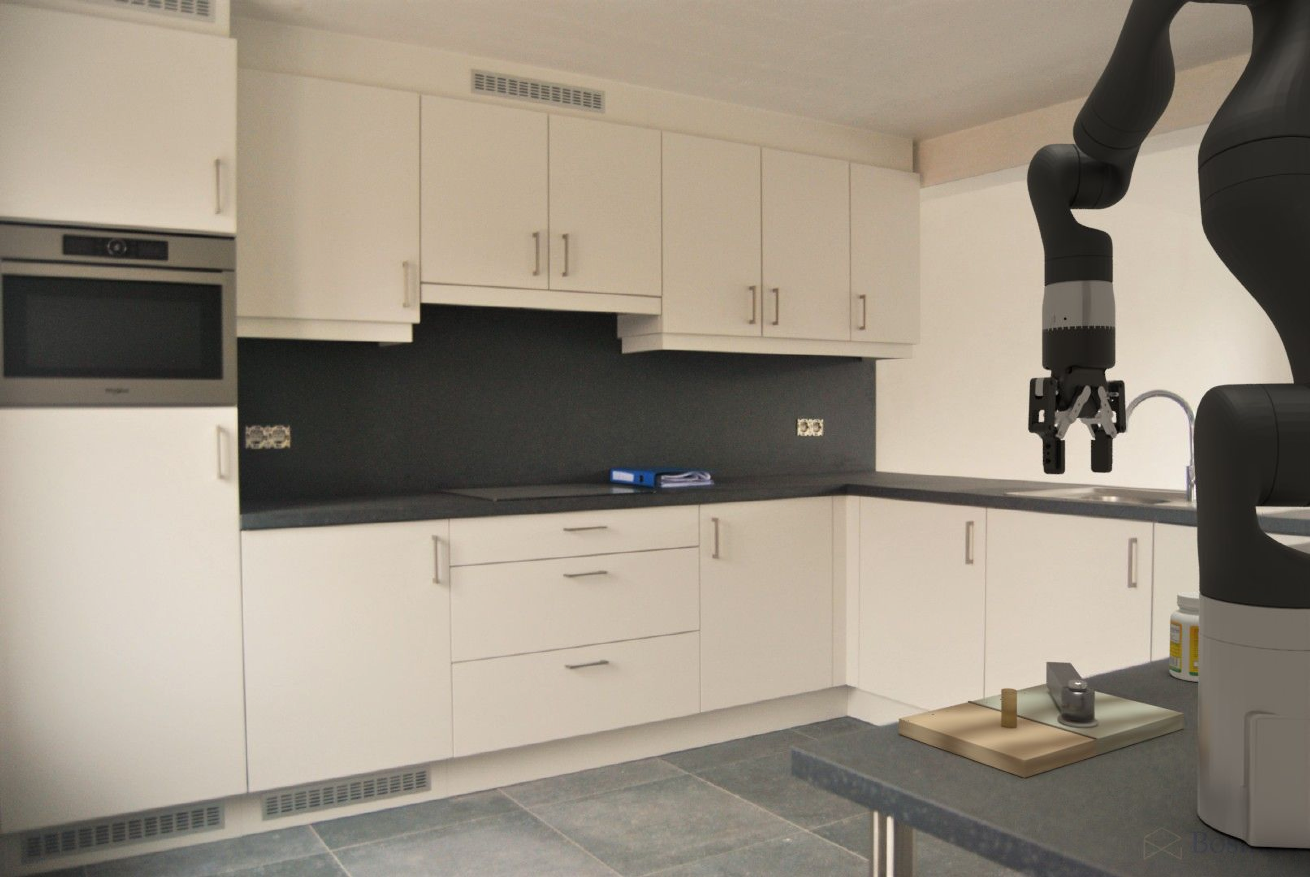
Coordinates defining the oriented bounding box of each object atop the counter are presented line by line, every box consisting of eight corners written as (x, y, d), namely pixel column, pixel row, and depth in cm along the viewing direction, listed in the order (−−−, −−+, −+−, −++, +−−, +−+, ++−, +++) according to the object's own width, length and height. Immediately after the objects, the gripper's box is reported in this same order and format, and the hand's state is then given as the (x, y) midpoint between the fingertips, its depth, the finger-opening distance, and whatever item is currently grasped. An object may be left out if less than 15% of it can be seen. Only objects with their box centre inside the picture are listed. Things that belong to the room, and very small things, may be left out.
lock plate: (1183, 728, 103) (1183, 678, 102) (1024, 777, 89) (1024, 720, 89) (1055, 694, 115) (1055, 650, 115) (898, 733, 102) (898, 683, 101)
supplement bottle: (1161, 676, 122) (1161, 594, 122) (1182, 668, 125) (1182, 589, 125) (1209, 685, 118) (1210, 600, 118) (1229, 677, 121) (1230, 595, 121)
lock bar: (1097, 721, 98) (1097, 686, 98) (1063, 720, 99) (1063, 685, 99) (1073, 686, 110) (1073, 655, 110) (1043, 685, 111) (1043, 654, 111)
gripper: (1068, 319, 108) (1068, 476, 109) (1147, 326, 116) (1147, 473, 116) (1008, 325, 115) (1008, 474, 115) (1086, 332, 123) (1087, 471, 123)
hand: (1078, 473), depth 116 cm, fingers open, 8 cm apart
